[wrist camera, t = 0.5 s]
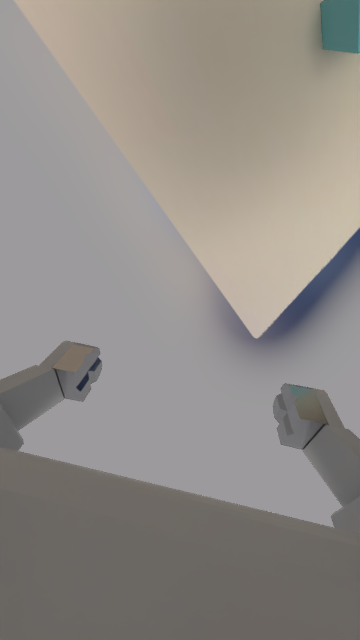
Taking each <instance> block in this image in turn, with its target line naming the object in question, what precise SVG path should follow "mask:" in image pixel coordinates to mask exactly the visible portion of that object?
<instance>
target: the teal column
mask: <svg viewBox="0 0 360 640" xmlns="http://www.w3.org/2000/svg"><path fill="white" fill-rule="evenodd" d="M320 5H321V23H322V42H323V49H326V50H333V51H341V52H349V53H357V54H358V53H360V0H324V1H323V2H322V3H321V4H320Z"/></svg>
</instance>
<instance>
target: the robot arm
mask: <svg viewBox="0 0 360 640" xmlns="http://www.w3.org/2000/svg"><path fill="white" fill-rule="evenodd" d="M99 355H100V349H99V348H97V347H94V346H90V345H85V344H80V343H75V342H70V341H64V342H62V343H61V344H60V345H59V346H58V347H57V348H56V349H55V350H54V351H53V352H52V353H51V354H50V355H49V356H48V357H47V358H46V359H45V360H44V361H43V362H42V363H41V364H40V365H39V366H38V365H35V366H32V367H30V368H27V369H25V370H22V371H20V372H18V373H15V374H13V375H11V376H8V377H6V378H3V379H1V380H0V640H360V439H359V438H358V437H357V436H356V435H355V434H354V433H353V432H351V431H350V430H349V429H345V428H344V426H343V424H342V422H341V420H340V418H339V416H338V414H337V412H336V410H335V408H334V406H333V404H332V403H331V400H330V398H329V397H328V394H327V393H326V392H325V391H324V390H319V389H314V388H309V387H303V386H298V385H292V384H287V383H285V384H284V385H283V386H282V387H281V392H282V393H281V394H279V395H277V396H276V398H275V400H274V405H273V413H274V417H275V419H276V420H277V421H278V422H279V426H278V427H277V431H278V434H279V439H280V443H281V445H285V446H289V447H293V448H297V449H302V450H303V452H304V454H305V455H306V456H307V458H308V459H309V460H310V462H311V463H312V465H313V466H314V468H315V469H316V470H317V472H318V473H319V474H320V476H321V477H322V479H323V480H324V481H325V482H326V484H327V486H328V487H329V488H330V490H331V491H332V493H333V494H334V495H335V497H336V498H337V500H338V501H339V502H340V504H341V505H342V506H343V507H342V508H341V509H339V510H338V511H336V512H334V513H333V514H332V516H331V518H332V521H333V525H334V528H333V527H329V526H325V525H320V524H317V523H313V522H308V521H304V520H300V519H296V518H292V517H288V516H284V515H279V514H276V513H272V512H267V511H263V510H259V509H255V508H251V507H247V506H242V505H238V504H235V503H230V502H226V501H222V500H218V499H214V498H210V497H205V496H202V495H197V494H193V493H189V492H185V491H181V490H176V489H173V488H168V487H164V486H160V485H156V484H152V483H148V482H144V481H140V480H136V479H131V478H127V477H123V476H119V475H115V474H111V473H107V472H103V471H99V470H94V469H90V468H86V467H82V466H77V465H74V464H70V463H65V462H61V461H57V460H53V459H49V458H45V457H41V456H37V455H32V454H29V453H24V452H20V451H18V450H19V449H20V448H21V446H22V445H23V444H24V443H23V438H22V437H21V435H20V434H19V432H18V431H19V430H20V429H22V428H23V427H24V426H26V425H27V424H29V423H30V422H32V421H33V420H34V419H36V418H38V417H39V416H41V415H42V414H43V413H45V412H46V411H48V410H49V409H51V408H52V407H54V406H55V405H56V404H58V403H60V402H61V401H63V400H64V398H66V399H71V400H77V401H82V402H83V401H84V400H85V398H86V396H87V395H88V393H89V392H90V390H91V385H90V384H92V383H94V382H95V381H97V379H98V377H99V375H100V372H101V370H102V361H101V360H100V359H99V358H98V356H99Z"/></svg>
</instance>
